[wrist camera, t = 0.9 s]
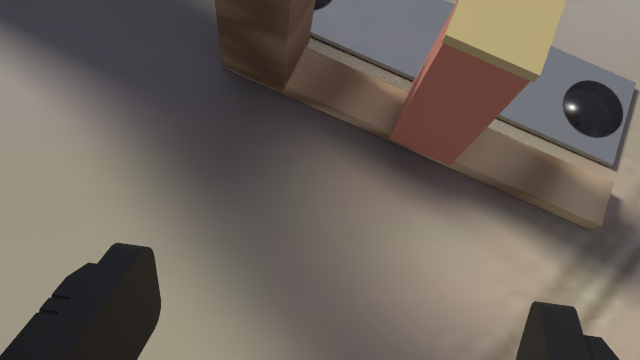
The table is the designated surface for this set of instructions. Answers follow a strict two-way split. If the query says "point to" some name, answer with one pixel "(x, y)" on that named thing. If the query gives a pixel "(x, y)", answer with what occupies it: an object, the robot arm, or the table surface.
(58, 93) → the table surface
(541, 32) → the sliding leg
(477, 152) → the rail
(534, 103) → the flange plate
